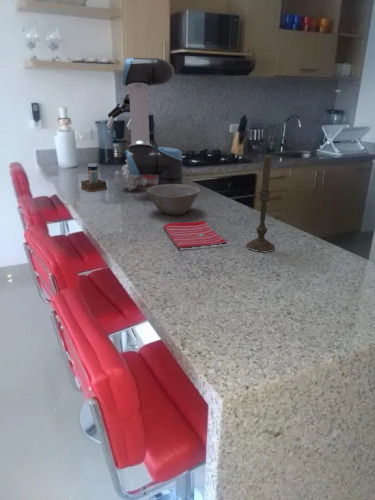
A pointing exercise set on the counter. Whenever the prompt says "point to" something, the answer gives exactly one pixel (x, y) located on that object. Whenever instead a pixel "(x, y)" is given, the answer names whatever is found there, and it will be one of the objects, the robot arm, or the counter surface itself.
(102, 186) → the walnut can stand
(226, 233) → the counter surface
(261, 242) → the candlestick holder
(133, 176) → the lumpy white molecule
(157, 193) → the ceramic bowl
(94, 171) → the spice jar
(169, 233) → the dish towel
